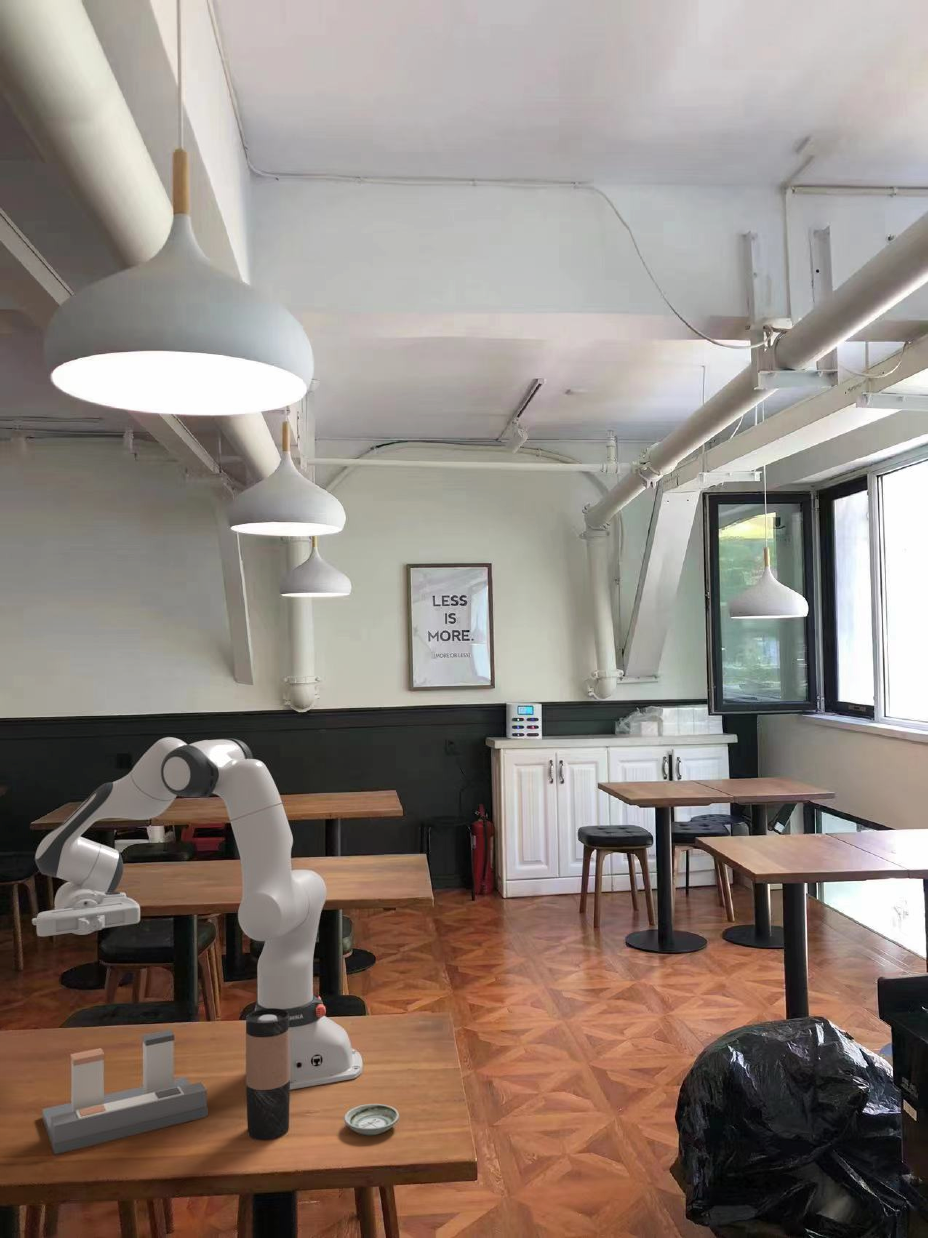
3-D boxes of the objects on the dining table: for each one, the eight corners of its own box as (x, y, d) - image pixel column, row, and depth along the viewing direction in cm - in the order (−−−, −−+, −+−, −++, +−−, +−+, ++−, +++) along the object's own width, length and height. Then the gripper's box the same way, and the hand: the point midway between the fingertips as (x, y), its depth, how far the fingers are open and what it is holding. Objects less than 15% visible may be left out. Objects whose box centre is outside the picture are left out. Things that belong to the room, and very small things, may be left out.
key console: (185, 1084, 193) (185, 1059, 193) (207, 1116, 179) (207, 1089, 180) (42, 1117, 180) (42, 1090, 180) (54, 1154, 166) (54, 1125, 167)
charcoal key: (142, 1094, 185) (142, 1035, 185) (170, 1088, 188) (170, 1029, 188) (146, 1101, 182) (146, 1040, 183) (174, 1094, 185) (174, 1034, 185)
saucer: (376, 1148, 167) (375, 1133, 167) (333, 1134, 172) (332, 1119, 172) (410, 1125, 175) (410, 1111, 175) (368, 1112, 180) (367, 1098, 181)
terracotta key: (70, 1116, 176) (70, 1054, 177) (101, 1109, 179) (101, 1048, 179) (73, 1123, 174) (73, 1060, 174) (104, 1116, 176) (104, 1053, 177)
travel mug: (299, 1125, 175) (297, 1011, 176) (273, 1144, 168) (272, 1025, 169) (263, 1117, 179) (262, 1005, 179) (237, 1136, 172) (236, 1019, 173)
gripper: (30, 903, 205) (39, 918, 193) (132, 891, 215) (145, 904, 204) (30, 934, 205) (38, 950, 193) (132, 920, 215) (145, 934, 203)
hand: (94, 926), depth 198 cm, fingers closed
